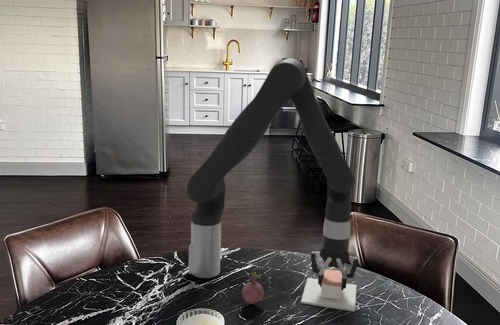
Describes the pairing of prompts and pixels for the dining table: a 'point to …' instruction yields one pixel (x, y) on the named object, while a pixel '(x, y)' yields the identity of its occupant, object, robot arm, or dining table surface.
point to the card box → (331, 284)
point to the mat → (314, 298)
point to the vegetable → (252, 291)
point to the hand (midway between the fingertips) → (331, 287)
